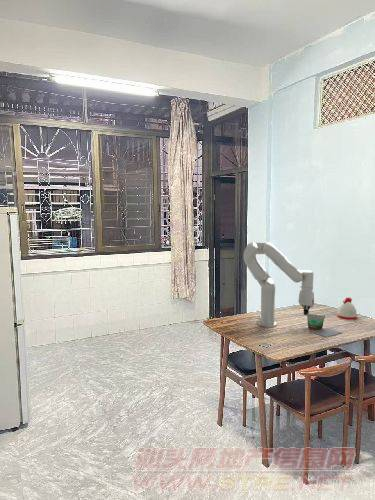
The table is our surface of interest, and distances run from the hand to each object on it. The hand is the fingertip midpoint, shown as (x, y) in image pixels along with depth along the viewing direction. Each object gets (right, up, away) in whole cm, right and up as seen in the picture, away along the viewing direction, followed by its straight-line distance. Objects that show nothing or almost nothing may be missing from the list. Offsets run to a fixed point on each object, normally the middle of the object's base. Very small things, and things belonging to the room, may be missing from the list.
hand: (306, 314), depth 254 cm
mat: (+9, -10, -13) cm, 19 cm away
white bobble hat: (+39, -6, +24) cm, 46 cm away
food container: (+4, -9, -5) cm, 11 cm away
